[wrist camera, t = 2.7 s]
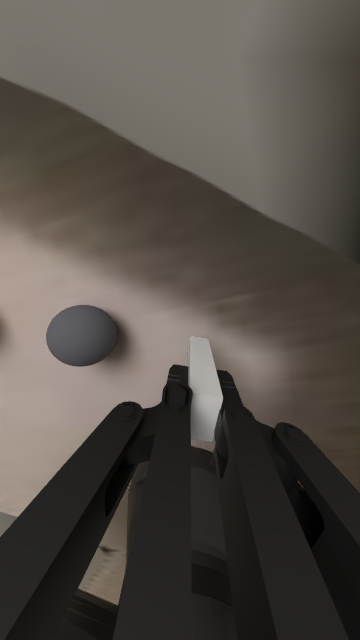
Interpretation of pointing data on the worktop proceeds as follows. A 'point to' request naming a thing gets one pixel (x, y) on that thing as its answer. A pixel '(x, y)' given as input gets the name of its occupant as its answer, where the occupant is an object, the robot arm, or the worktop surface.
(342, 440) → the worktop surface
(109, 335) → the dark gray ball
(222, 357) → the worktop surface
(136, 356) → the worktop surface
